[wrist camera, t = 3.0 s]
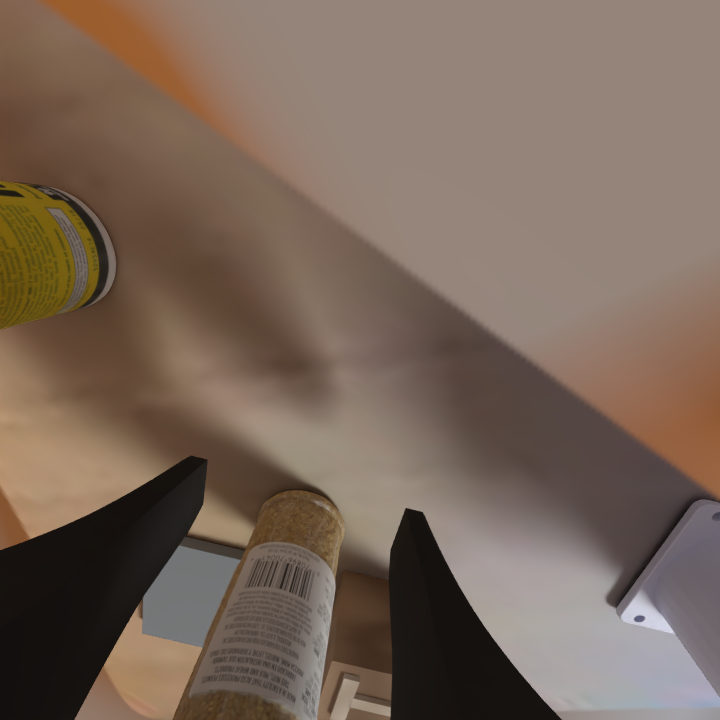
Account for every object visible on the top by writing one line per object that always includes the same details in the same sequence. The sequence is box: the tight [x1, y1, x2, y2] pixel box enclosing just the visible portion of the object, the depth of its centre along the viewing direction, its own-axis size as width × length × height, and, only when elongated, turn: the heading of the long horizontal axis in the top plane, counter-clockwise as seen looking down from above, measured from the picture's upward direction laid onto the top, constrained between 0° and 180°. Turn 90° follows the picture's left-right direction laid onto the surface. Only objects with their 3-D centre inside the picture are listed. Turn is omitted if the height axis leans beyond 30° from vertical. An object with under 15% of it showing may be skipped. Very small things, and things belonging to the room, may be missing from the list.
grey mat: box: [142, 537, 245, 648], centre depth 21 cm, size 8×8×1 cm
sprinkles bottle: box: [173, 490, 345, 720], centre depth 13 cm, size 5×5×13 cm
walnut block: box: [317, 570, 392, 720], centre depth 19 cm, size 4×4×5 cm
